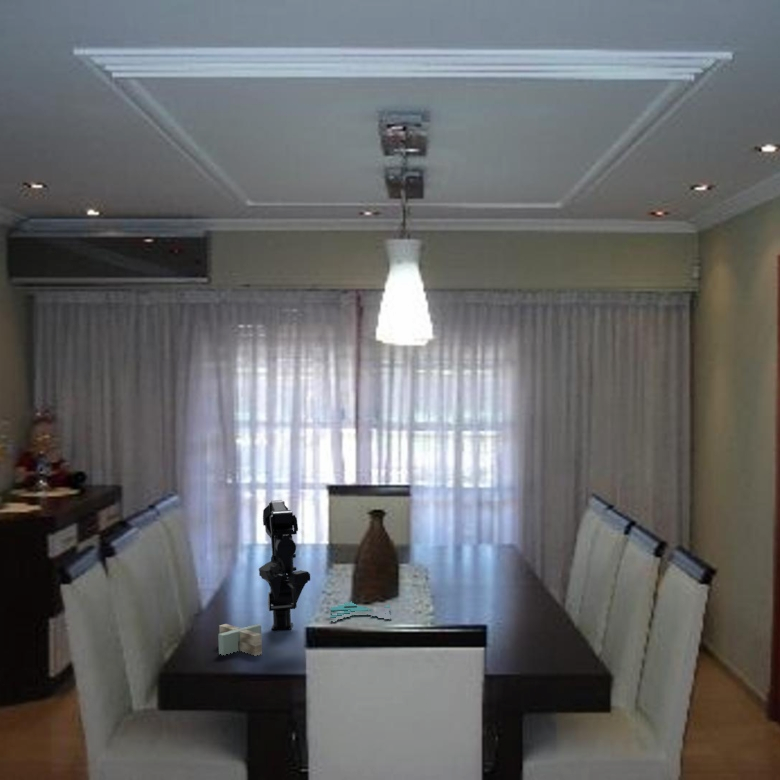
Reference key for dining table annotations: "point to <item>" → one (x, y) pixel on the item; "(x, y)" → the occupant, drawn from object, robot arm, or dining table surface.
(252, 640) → the birch slotted board
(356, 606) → the alien figure
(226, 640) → the pale green slotted board
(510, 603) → the dining table surface
